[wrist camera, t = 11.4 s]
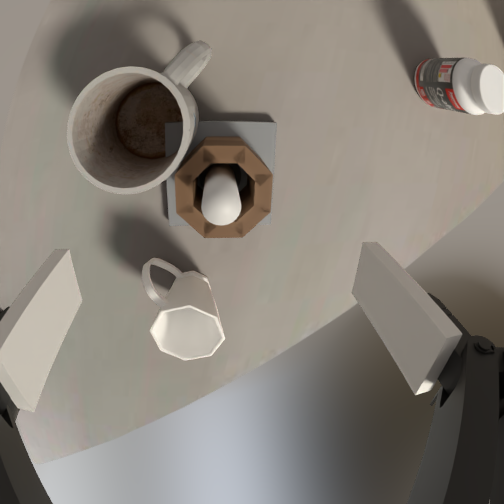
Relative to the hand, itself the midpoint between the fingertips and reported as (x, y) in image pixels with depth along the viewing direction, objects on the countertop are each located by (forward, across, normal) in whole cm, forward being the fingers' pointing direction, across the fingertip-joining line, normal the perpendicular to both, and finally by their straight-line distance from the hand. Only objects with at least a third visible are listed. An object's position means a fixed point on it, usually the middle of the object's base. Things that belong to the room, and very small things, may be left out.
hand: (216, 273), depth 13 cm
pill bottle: (+18, +23, +12) cm, 32 cm away
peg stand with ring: (+18, +1, 0) cm, 18 cm away
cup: (+18, -4, -11) cm, 22 cm away
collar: (+17, +1, 0) cm, 17 cm away
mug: (+19, -4, +7) cm, 20 cm away
